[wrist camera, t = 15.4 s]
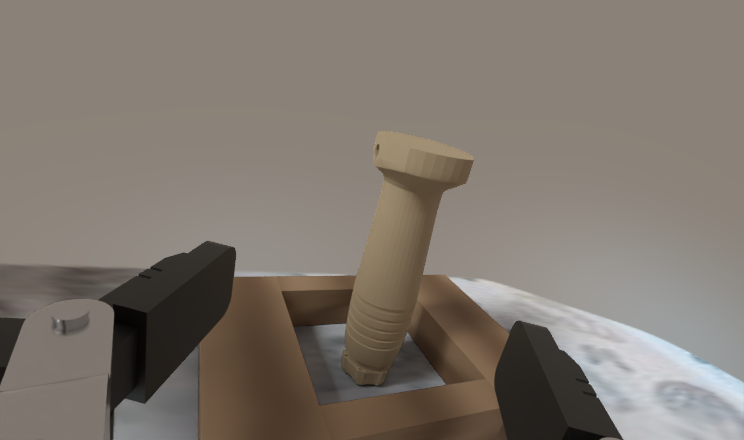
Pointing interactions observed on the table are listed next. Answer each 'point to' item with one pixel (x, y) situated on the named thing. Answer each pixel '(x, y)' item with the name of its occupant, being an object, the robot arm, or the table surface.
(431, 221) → the handle
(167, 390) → the table surface
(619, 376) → the table surface
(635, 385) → the table surface
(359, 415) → the wooden rectangular frame
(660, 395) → the table surface
